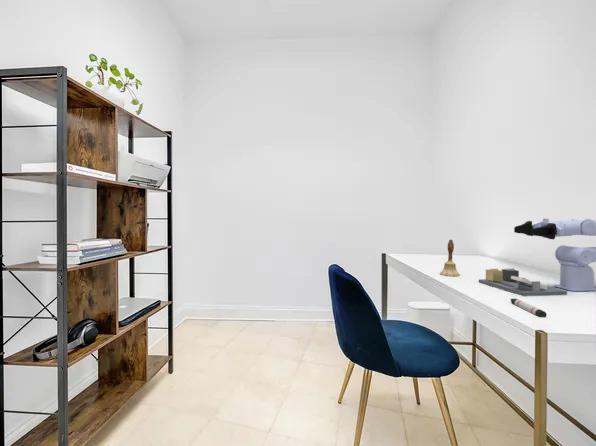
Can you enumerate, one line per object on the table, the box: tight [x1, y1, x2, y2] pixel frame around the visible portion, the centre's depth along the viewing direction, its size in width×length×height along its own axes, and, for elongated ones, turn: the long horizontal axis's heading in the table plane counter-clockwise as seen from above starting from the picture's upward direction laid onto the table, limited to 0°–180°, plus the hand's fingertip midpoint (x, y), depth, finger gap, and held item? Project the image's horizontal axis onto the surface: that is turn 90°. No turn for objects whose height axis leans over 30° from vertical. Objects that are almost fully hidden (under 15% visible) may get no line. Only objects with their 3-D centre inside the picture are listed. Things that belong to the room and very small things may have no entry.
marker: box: [510, 298, 548, 318], centre depth 94 cm, size 15×2×2 cm, turn 175°
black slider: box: [501, 267, 520, 281], centre depth 128 cm, size 4×4×5 cm
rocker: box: [511, 276, 548, 290], centre depth 113 cm, size 10×5×1 cm, turn 98°
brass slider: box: [485, 268, 503, 282], centre depth 127 cm, size 4×4×5 cm
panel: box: [478, 277, 568, 297], centre depth 121 cm, size 16×22×5 cm
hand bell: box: [439, 239, 461, 277], centre depth 147 cm, size 8×8×16 cm
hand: (522, 230), depth 117 cm, fingers open, 7 cm apart
